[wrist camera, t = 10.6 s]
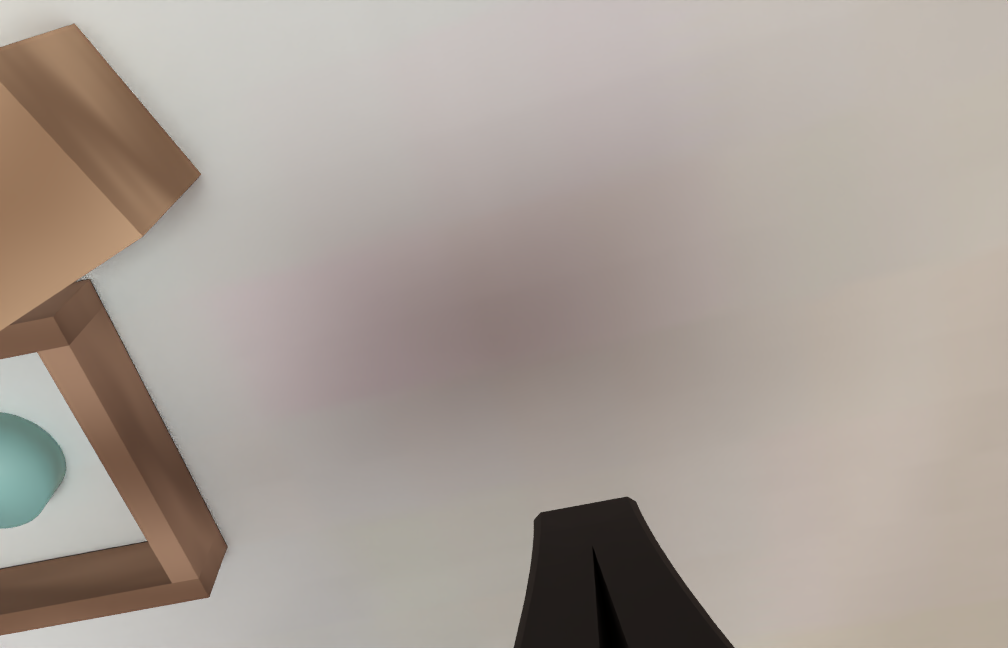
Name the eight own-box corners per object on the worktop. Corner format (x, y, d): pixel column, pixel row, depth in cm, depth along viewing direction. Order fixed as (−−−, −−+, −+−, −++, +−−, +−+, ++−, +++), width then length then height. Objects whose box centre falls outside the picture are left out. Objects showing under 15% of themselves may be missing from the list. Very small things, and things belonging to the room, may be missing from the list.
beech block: (202, 173, 18) (142, 236, 15) (80, 255, 19) (-4, 333, 16) (76, 23, 17) (-25, 55, 13) (-53, 120, 18) (-179, 174, 14)
